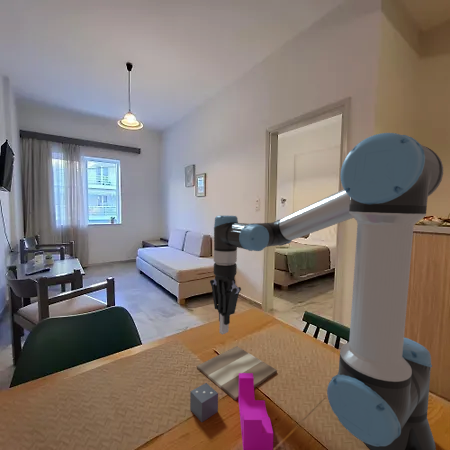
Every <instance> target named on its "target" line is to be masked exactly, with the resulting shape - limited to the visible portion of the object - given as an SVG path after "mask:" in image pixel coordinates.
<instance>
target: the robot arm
mask: <svg viewBox="0 0 450 450" xmlns="http://www.w3.org/2000/svg"><path fill="white" fill-rule="evenodd" d="M443 176H444V164H443V162H442V160H441V158H440V157H439V155H438V154H437V153H436V152H435V151H434V150H433V149H431V148H429V147H427V146H424V145H423V144H421V143H419V141H417V140H416V139H415V138H414V137H413V136H409V135H406V134H400V133H394V132H382V133H377V134H374V135H371V136H368V137H367V138H364V139H363V140H361V141H360V142H359V143H356V145H355V146H354V147H353V148H352V149H351V150H350V151H349V152H348V153H347V155H346V157H345V159H344V160H343V162H342V165H341V169H340V182H341V186H342V190H339V191H337V192H334V193H332V194H330V195H329V196H327V197H324V198H322V199H320V200H317V201H316V202H314V203H311V204H309V205H307V206H305V207H303V208H300V209H298V210H297V211H294V212H292V213H290V214H288V215H286V216H283V217H281V218H279V219H277V220H275V221H273V222H262V223H261V222H257V223H255V222H254V223H245V222H244V223H243V222H239V221H238V216H237V215H216V216H215V218H214V225H213V226H214V227H213V262H214V263H213V275H214V276H215V277H214V279H210V280H209V283H210V286H211V292H212V299H213V306H214V309H215V310H217V312H218V322H219V329H218V330H219V331H218V332H219V334H221V335H225V334H227V333H229V329H230V327H229V324H230V320H231V318H230V317H231V315H233V314H235V313H236V309H237V304H238V298H239V294H240V293H241V291H242V288H241V287H240V286H237V284H236V279H235V277H236V275H237V271H238V270H237V269H238V268H237V267H238V266H237V265H238V264H237V260H238V257H237V255H238V253H237V252H238V249H243V250H247V251H249V252H250V251H251V252H252V251H254V252H261V251H263V250H264V249H265V248H267V247H276V246H280V247H281V246H285V245H288V244H291V242H292V241H293V240H296V239H299V238H301V237H304V236H307V235H310V234H312V233H313V234H314V233H315V232H318V231H321V230H324V229H327V228H329V227H333V226H335V225H338V224H341V223H343V222H346V221H348V220H352V219H354V220H355V221H356V224H357V225H356V226H357V227H356V239H355V240H356V241H355V251H354V252H355V254H354V269H353V283H352V285H353V286H352V295H351V297H352V299H351V309H350V310H351V311H350V313H351V314H350V324H349V325H350V327H349V329H350V330H349V339H348V340H349V341H348V342H346V343H344V344H342V345H341V347H340V350H339V361H338V362H339V364H338V372H337V374H335V375H334V376H332V377H331V379H330V381H329V383H328V385H327V390H326V394H327V399H328V403H329V405H330V408H331V410H332V412H333V414H334V415H335V416H336V417H337V419H338V421H339V422H340V423H341V425H342V426H343V427H344V429H346V430H347V431H348V432H349V433H350V434H351V435H353V436H354V437H355V438H356V439H357V440H359V441H361V442H363V443H364V444H365V446H366V447H368V449H370V450H437V449H436V442H435V439H434V435H433V432H432V430H431V426H430V423H429V419H428V409H429V408H428V407H429V398H430V397H429V396H430V395H429V394H430V382H431V371H432V370H431V369H432V368H433V365H432V356H431V352H430V351H429V350H428V349H427V347H425V346H424V345H422V344H420V343H419V342H417V341H414V340H413V339H410V338H408V337H405V330H406V329H405V328H406V320H407V319H406V318H407V316H406V315H407V308H408V297H409V294H408V293H409V284H410V272H411V262H412V261H411V259H412V250H413V247H412V246H413V238H414V235H413V234H414V226H415V225H416V224H417V223H418V222H420V221H421V220H422V219H424V218H426V216H427V207H428V198H429V197H430V196H431V195H432V194H433V193H434V192H436V191H437V189H438V188H439V186H440V184H441V182H442V179H443Z"/></svg>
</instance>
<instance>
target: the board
mask: <svg viewBox="0 0 450 450" xmlns="http://www.w3.org/2000/svg"><path fill="white" fill-rule="evenodd" d="M196 370H198V371H199V370H200V371H199V372H201V373H202V375H204V376H205V377H207V378H208V379H209V380H210V381H211V382H213V383H214V384H215V385H216V386H217V387H219V389H221V390H222V391H223V392H224V393H226V394H227V395H228V397H229V396H230V398H232V399H233V400H234V401H237V400H238V391H239V373H253V377H254V389H255V388H257V387H258V386H259V385H261V384H262V383H263V382H265V381H266V380H268V379H270V378H271V377H272V376H273V375H275V374H277V373H278V372H277V371H278V369H276V368H275V367H273V366H271V365H269V363H266V362H265V361H262V360H261V359H260V358H258V357H256V356H254V355H253V354H251V353H249V351H246V350H245V349H243V348H241V347H239V346H238V345H236V346H234V347H232V348H230V349H228V350H226V351H224V352H222V353H220V354H218V355H216V356H214V357H212V358H209V359H208V360H206V361H204V362H202V363H199V364H198V365H196Z"/></svg>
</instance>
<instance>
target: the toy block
mask: <svg viewBox="0 0 450 450" xmlns="http://www.w3.org/2000/svg"><path fill="white" fill-rule="evenodd" d="M237 400H238V408H239V418H240V419H239V420H240V429H241V431H240V432H241V441H242V450H274V430H273V426H272V421H271V418H270V416H269V415H268V411H267V408H266V400H265V399H264V400H261V399H260V400H259V399H257V400H256V399H255V388H254V377H253V373H239V391H238V399H237Z"/></svg>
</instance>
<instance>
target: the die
mask: <svg viewBox="0 0 450 450" xmlns="http://www.w3.org/2000/svg"><path fill="white" fill-rule="evenodd" d="M189 395H190V401H189V403H190V405H189V407H190V411H191V412H192V413H193V414H194V416H195V417H196V418H197V419H198V421H200V422H201V423H203V422H205V421H206V420H208V419H209V418H211V417H212V416H215V414H217V413H219V393H218V391H216V390H215V389H214V388H213V387H212V386H210V385H209V383H207V382H206V383H203V384H202V385H200V386H197V387H196V388H194V389H192V390H191V391H190V394H189Z"/></svg>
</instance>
